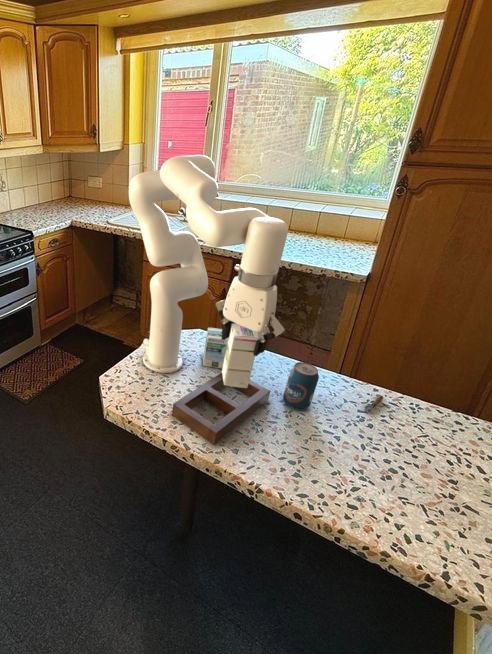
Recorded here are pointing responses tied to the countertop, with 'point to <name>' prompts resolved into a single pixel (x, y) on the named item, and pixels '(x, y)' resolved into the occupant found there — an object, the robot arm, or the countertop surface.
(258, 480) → the countertop surface
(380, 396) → the can opener
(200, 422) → the caddy
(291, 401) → the soda can
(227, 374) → the syrup box
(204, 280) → the robot arm
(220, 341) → the light bulb box
